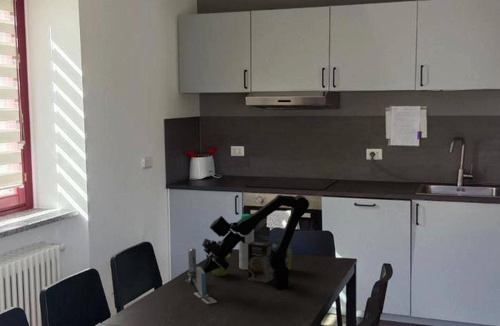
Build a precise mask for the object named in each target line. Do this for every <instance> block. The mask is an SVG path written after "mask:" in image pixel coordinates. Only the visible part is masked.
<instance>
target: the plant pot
mask: <svg viewBox="0 0 500 326" xmlns="http://www.w3.org/2000/svg"><path fill="white" fill-rule="evenodd" d="M230 257H231V254H230V253H229V254H228V255H227V257H226V258H225V259H226V261H227V262H228V263H229V260H230ZM220 267H221V268H217V269H215V270H213V271H211V272H212V275H213V276H215V277H222V276H227V273H228V268H227V269H226V270H225V269H224V268H223V267H222V266H221V265H220Z"/></svg>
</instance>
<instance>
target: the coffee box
mask: <svg viewBox="0 0 500 326" xmlns="http://www.w3.org/2000/svg"><path fill="white" fill-rule="evenodd" d="M273 244H274V243H273V242H265V241H256V240H254V242H251V243H249V244H248V270H247V275H248V276H247V278H248V281H251V282H252V281H253V282H259V283H266V284H267V283H269V282H270V281H272V280H273V273H272V267H271V265H270V263H269V257H268V256H269V255H270V252H271V249H272V247H273Z"/></svg>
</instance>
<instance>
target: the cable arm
mask: <svg viewBox="0 0 500 326" xmlns="http://www.w3.org/2000/svg"><path fill="white" fill-rule="evenodd" d="M202 269H203V267H202V266H196V272H197V276H196V278H197V279H196V278H195V277H192V281H193V283H192V284H194V286H195V287H196V289H197V290H198V292H199V293H200V294H201V296H206V294H207V288H206V287H207V283H206V279H207V277H206V274H207V273H206V274H205V272H204V271H203V270H202Z"/></svg>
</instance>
